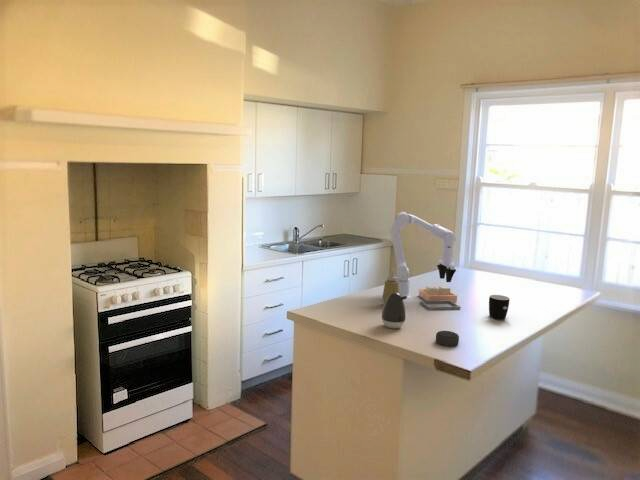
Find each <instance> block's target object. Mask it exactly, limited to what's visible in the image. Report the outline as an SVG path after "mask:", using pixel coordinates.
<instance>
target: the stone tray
mask: <svg viewBox="0 0 640 480" xmlns="http://www.w3.org/2000/svg"><path fill="white" fill-rule="evenodd" d="M419 304H420V305H422V306H423V307H424V308H425V309H427V310H428V311H447V310H448V311H455V310H456V311H459V310H461V306H460V305H459V304H457V303H456V302H452V301H450V300H448V301H426V300H420V301H419Z"/></svg>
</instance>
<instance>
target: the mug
mask: <svg viewBox="0 0 640 480" xmlns="http://www.w3.org/2000/svg"><path fill="white" fill-rule="evenodd" d="M488 297H489V298H488V314H489V317H490V318H492V319H493V320H495V321H496V320H497V321H504V320H505V319H506V317H507V315H508V311H509V308H510V307H509V306H510V301H511V300H510V299H511V298H510V297H509V296H506V295H502V294H491V295H489V296H488Z"/></svg>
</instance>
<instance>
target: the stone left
mask: <svg viewBox="0 0 640 480" xmlns="http://www.w3.org/2000/svg"><path fill="white" fill-rule="evenodd" d="M425 289H426V293H427V294H428V295H430V296H431V295H437V293H438V289H439V287H436V286H430V285H429V286H426V288H425Z"/></svg>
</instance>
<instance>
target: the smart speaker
mask: <svg viewBox="0 0 640 480" xmlns="http://www.w3.org/2000/svg"><path fill="white" fill-rule="evenodd" d="M435 342H436V343H437V344H439V345H441V346H443V345H444V347H455V346H456V347H457V345H458V344H459V343H460V336H459V334H458V333H456V332H454V331H450V330H439V331H438V332H436V334H435Z"/></svg>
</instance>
